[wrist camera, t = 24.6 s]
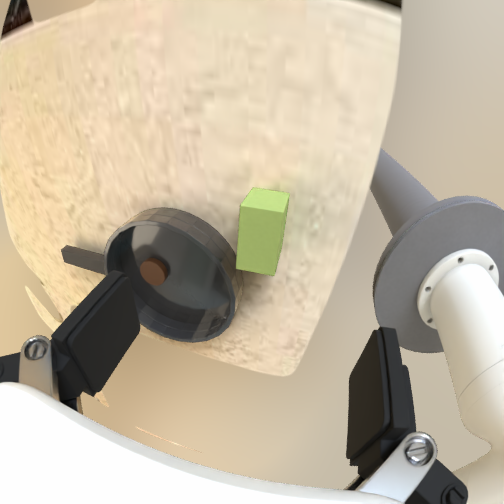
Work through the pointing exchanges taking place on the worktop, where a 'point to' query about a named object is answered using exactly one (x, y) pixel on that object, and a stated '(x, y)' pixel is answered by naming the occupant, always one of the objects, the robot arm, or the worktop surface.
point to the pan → (178, 273)
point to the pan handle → (83, 259)
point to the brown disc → (153, 271)
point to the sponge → (261, 230)
